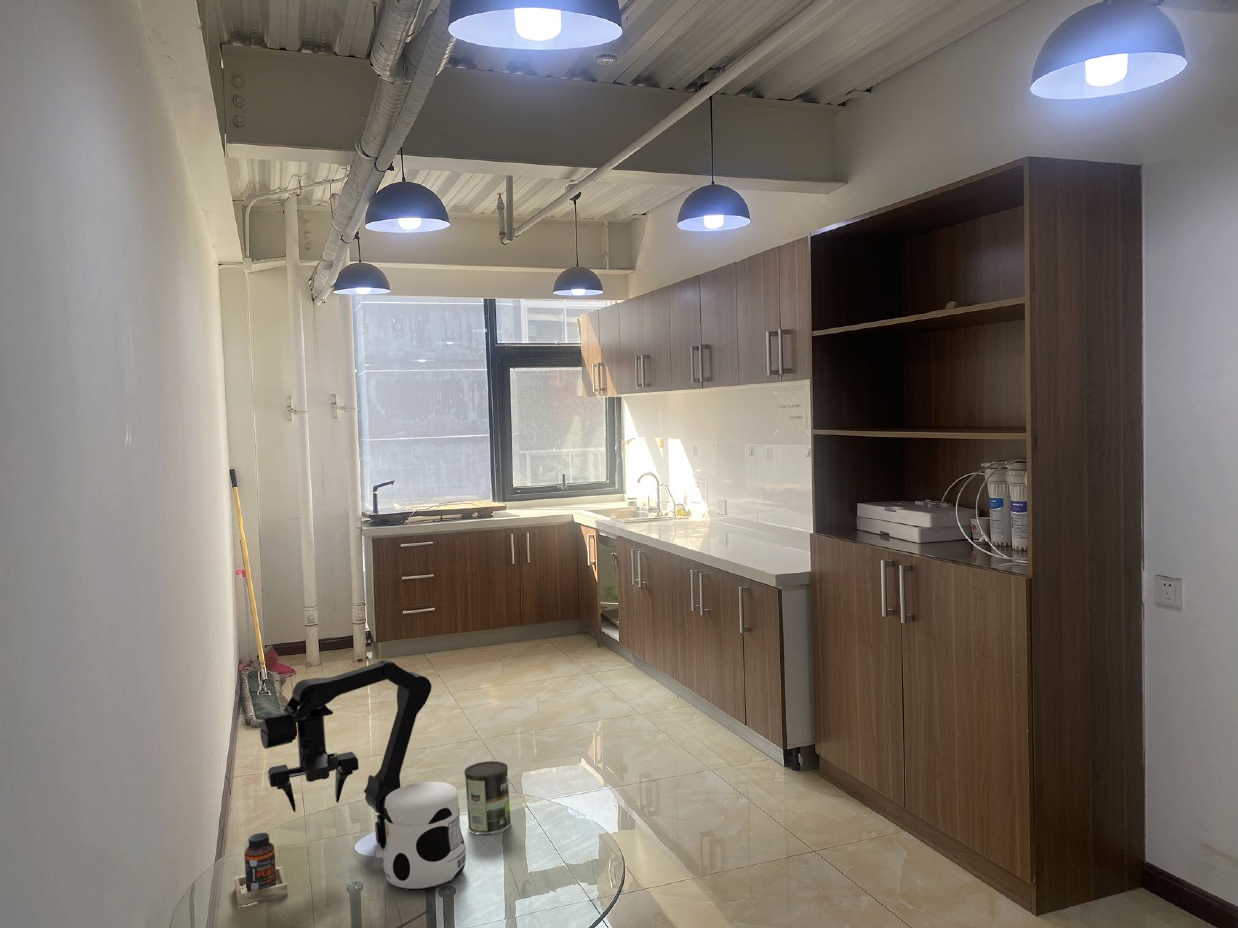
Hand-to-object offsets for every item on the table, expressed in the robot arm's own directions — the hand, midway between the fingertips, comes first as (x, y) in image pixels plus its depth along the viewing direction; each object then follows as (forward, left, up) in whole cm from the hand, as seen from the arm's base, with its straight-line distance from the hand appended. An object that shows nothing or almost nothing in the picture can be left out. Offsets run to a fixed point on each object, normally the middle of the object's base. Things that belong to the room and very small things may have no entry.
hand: (316, 806), depth 207 cm
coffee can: (-39, +2, -13) cm, 41 cm away
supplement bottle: (+13, +7, -13) cm, 19 cm away
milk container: (-19, +20, -13) cm, 31 cm away
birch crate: (+13, +7, -13) cm, 20 cm away
